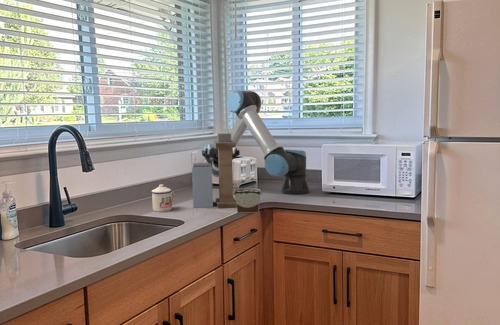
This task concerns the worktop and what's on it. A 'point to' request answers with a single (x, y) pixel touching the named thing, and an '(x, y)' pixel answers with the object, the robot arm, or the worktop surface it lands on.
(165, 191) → the teacup with lid
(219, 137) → the handle
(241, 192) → the food container
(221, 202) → the stand
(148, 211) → the worktop surface
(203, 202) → the blue-grey tall block
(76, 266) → the worktop surface
